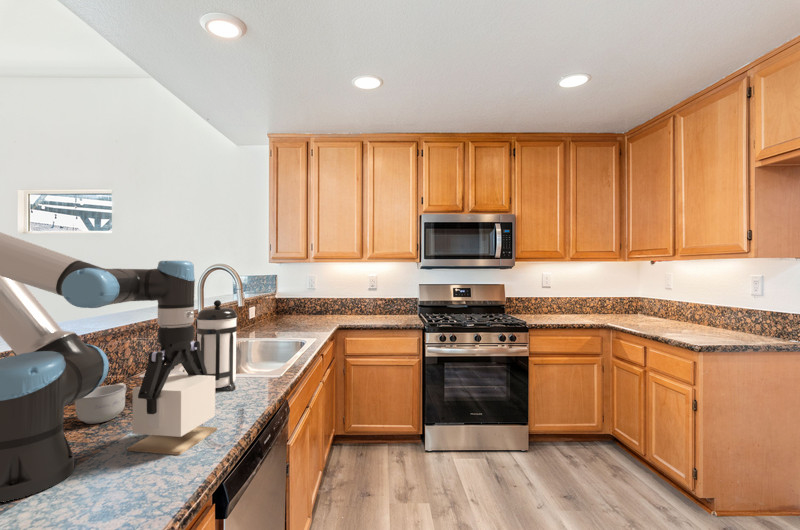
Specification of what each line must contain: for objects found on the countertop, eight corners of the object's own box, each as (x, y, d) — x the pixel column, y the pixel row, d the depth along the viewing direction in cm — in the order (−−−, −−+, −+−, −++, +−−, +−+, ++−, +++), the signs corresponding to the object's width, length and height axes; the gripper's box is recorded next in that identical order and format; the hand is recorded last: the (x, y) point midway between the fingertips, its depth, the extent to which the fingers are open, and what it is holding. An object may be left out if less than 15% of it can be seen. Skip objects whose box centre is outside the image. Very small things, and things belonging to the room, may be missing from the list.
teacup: (97, 429, 95) (97, 397, 95) (62, 425, 97) (63, 394, 97) (144, 409, 109) (145, 381, 109) (113, 406, 111) (114, 379, 111)
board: (179, 454, 82) (180, 452, 82) (127, 450, 84) (127, 447, 84) (217, 429, 95) (217, 427, 95) (170, 426, 97) (170, 424, 97)
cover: (180, 436, 83) (181, 391, 83) (132, 433, 85) (132, 388, 85) (215, 415, 95) (215, 375, 95) (172, 413, 96) (172, 374, 97)
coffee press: (178, 392, 124) (179, 301, 124) (218, 379, 138) (219, 298, 139) (216, 400, 117) (218, 303, 117) (255, 385, 132) (256, 299, 132)
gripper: (149, 334, 77) (149, 439, 77) (221, 318, 101) (221, 399, 101) (117, 333, 78) (116, 437, 78) (196, 318, 102) (195, 398, 102)
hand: (175, 416), depth 90 cm, fingers closed on cover, 12 cm apart
